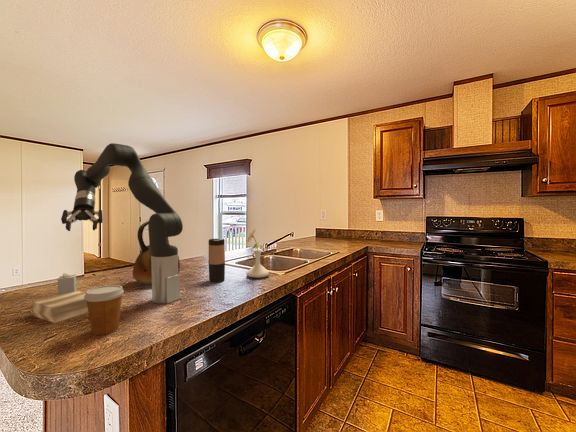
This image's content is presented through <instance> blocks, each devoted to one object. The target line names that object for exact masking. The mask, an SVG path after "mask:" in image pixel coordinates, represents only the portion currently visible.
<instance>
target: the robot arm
mask: <svg viewBox="0 0 576 432" xmlns="http://www.w3.org/2000/svg"><path fill="white" fill-rule="evenodd" d="M111 165H112V166H118V167H126V168H128V169H129V171H130V172H131V173H130V175H129V178H128V181H127V182H128V183H127V184H128V188H129V191H130V192H131V194H132V195H133V197H134V198H135V200H137V201H138V202H139V203H140V204H142V205H143V206H145V207H146V208H148V209H150V210H151V211H153V212H154V213H153V214H151V215H150V217H149V218H148V221H149V223H148V225H147V228H148V229H147V230H148V241H149V244H148V245H150V250H151V263H152V264H151V265H152V284H151V301H152V303H155V304H170V303H172V302H175V301H177V300H180V299H181V274H180V273H179V274H178V256H179V255H178V254H179V250H178V246H176V245H172V244H170V243H169V244H170V245H169V244H168V243H167V241H166V237H168V238H172V237H176V236H179V235H181V233H182V232H183V221H182V219H181V217H180V215H179V214H178V213H177V211H176V210H175V209H174V208H173V207H172V206H171V204H169V202H168V201H167V200H166V198H165V197H164V196H163V194H162V192H161V190H159V188H158V186H157V185H156V183H155V182H154V180H153V179H152V177H151V176H150V175H149V173H148V172H147V170H146V169H145V167H144V165H143V163H142V160H141V159H140V157H139V154H138V153H137V151H136V150H135V148H134V147H133V146H130V145H127V144H126V145H125V144H120V143H115V142H112V143H109V144H107V145H106V147H104V149H103V150H102V152H101V153H100V155H99V156H98V158H97V160H96V161H95V162H94V163H93V164H92V165H91V166H89V167H87V169H86V170H85V169H80V170H77V171H76V172H75V174H74V175H73V176H74V177H73V179H74V184H75V187H76V195H75V198H74V203H73V209H72V210H70V211H68V210H67V209H64V210H63V212H62V214H61V218H60V220H61V224H62V225H64V224H65V230H66V231H67V232H71V229H72V228H71V227H72V224H73V223H76V222H77V221H90V222H91V223H92V230H93V231H96V230H97V229H98V225H99V224H103V221H104V220H103V219H104V218H103V210H102V209H98V211H97V210H96V211H95V207H96V206H95V205H96V189H97V188H98V187H99V186H100V184H101V181H102V179H104V178H105V177H107V176H108V175H109V173H110V171H111ZM95 215H96V216H97V217H98V218H96V217H95Z"/></svg>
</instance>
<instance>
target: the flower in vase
mask: <svg viewBox="0 0 576 432" xmlns="http://www.w3.org/2000/svg"><path fill="white" fill-rule="evenodd" d="M255 232H256V228H253V229H252V232H250V233H249V236H248V237H247V238H246V239H247V240H246V242H247V243H249V242H250V241H251V240H252V238H253V240H254V242H255V244H254V245H253V246H252V251H253V253H254V255H255V257H254V258H255V263H254V265H253V266H252V267H251V268H249V269H248V271H247V272H246V276H247V277H250V278H255V279H257V278H258V279H259V278H265V277H268V276H269V274H270V272H269V271H268V269H266V268H265V267H264V266H263V265H262V263H261V254H262V252H263V249H259V248H260V247H261V244H260V242H259V241H258V242H257V241H256V238H255V236H254V235H255Z"/></svg>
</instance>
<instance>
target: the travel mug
mask: <svg viewBox="0 0 576 432" xmlns="http://www.w3.org/2000/svg"><path fill="white" fill-rule="evenodd" d="M225 245H226V244H225V239H224V238H222V239H219V238H210V239H208V276H209V277H208V278H209V279H208V280H209V283H216V284H217V283H222V282H224V281H225V277H226V275H225V274H226V273H225V272H226V271H225V270H226V263H225V262H226V256H225V255H226V252H225V251H226V247H225Z"/></svg>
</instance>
